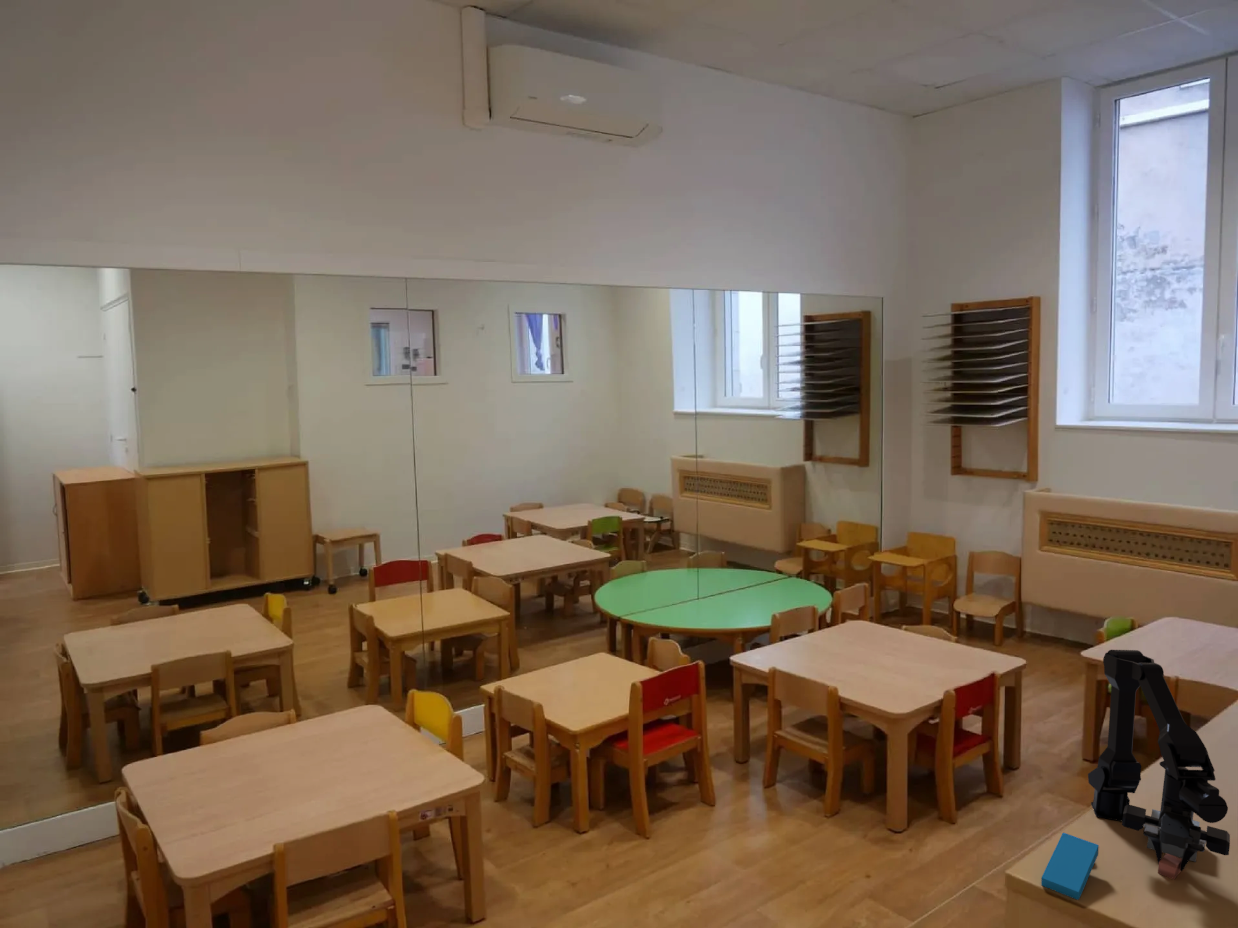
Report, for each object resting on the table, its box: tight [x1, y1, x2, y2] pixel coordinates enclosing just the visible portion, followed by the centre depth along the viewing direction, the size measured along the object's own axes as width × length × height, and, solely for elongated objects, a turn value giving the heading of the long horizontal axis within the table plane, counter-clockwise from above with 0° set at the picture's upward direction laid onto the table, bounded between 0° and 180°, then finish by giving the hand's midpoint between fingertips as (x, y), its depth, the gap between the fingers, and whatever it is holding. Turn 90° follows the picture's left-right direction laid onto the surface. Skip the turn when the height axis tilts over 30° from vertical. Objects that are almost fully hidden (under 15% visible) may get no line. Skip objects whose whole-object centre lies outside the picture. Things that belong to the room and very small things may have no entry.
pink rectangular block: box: [1157, 853, 1182, 880], centre depth 185 cm, size 5×3×2 cm, turn 133°
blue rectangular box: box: [1040, 832, 1100, 901], centre depth 183 cm, size 7×7×18 cm
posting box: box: [1146, 808, 1201, 863], centre depth 194 cm, size 9×9×5 cm
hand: (1170, 866), depth 185 cm, fingers closed on pink rectangular block, 3 cm apart
